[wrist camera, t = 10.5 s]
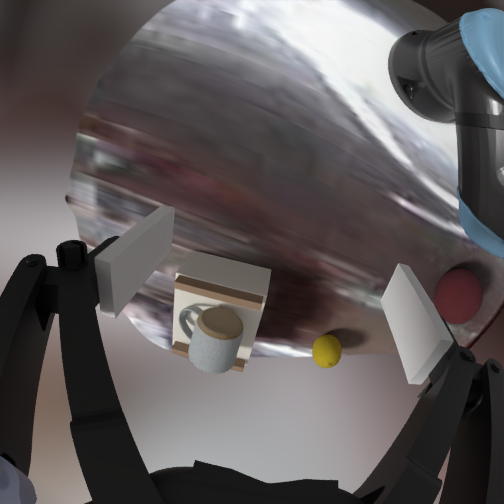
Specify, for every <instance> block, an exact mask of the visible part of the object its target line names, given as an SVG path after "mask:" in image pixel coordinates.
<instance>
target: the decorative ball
mask: <svg viewBox="0 0 504 504" xmlns="http://www.w3.org/2000/svg"><path fill="white" fill-rule="evenodd" d="M482 300H483V290H482V286H481V283H480V281H479V279H478V278H477V276H476V275H475V274H473V273H472V272H471V271H469V270H466V269H453V270H451V271H449V272H447V273H446V274H445V275H443V276H442V278H441V279H440V280H439V282H438V284H437V286H436V289H435V293H434V303H435V307H436V310H437V312H438V313H439V314H440V315H441V316H442V317H443V318H444V320H445V321H447V322H449V323H452V324H463V323H466V322H468V321H469V320H471V319H472V318H473V317H474V316H475V315H476V314H477V313H478V311H479V309H480V307H481V304H482Z"/></svg>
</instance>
